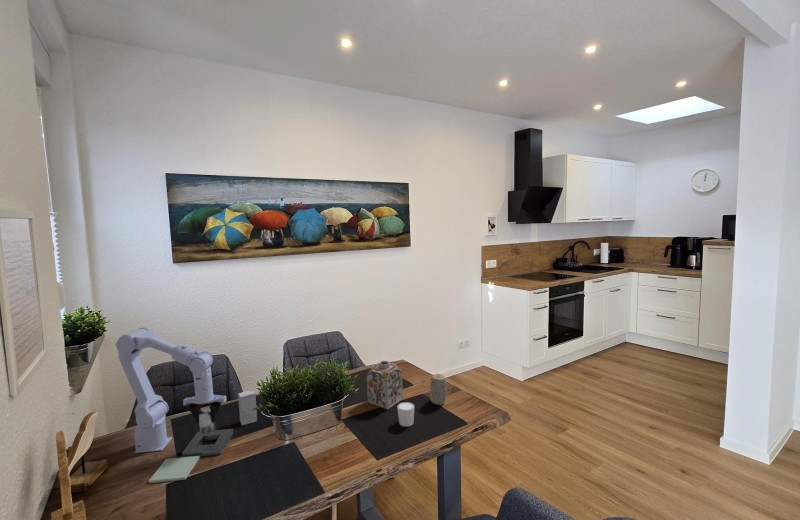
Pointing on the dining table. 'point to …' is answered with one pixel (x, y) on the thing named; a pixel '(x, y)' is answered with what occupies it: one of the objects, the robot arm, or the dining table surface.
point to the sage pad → (174, 469)
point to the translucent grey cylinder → (206, 421)
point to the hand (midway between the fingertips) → (207, 421)
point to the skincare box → (247, 407)
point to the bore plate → (204, 450)
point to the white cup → (406, 413)
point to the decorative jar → (384, 385)
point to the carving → (438, 389)
